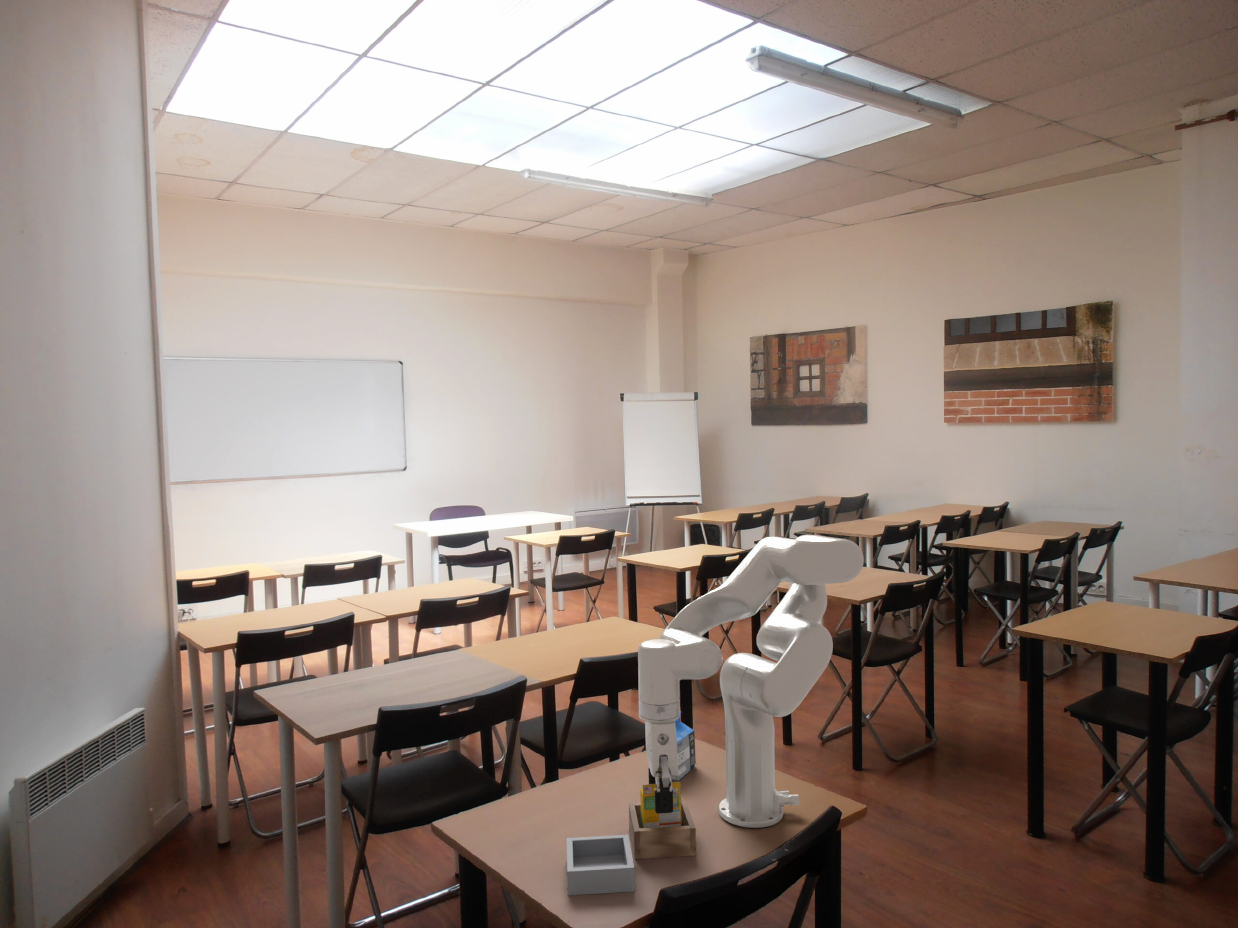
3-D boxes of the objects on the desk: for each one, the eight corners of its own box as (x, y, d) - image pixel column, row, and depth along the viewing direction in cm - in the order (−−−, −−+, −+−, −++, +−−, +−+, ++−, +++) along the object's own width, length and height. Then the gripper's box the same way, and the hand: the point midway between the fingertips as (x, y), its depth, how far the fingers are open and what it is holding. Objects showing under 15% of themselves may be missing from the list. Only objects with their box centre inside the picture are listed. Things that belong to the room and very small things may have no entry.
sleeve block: (686, 825, 154) (685, 799, 154) (696, 855, 143) (695, 827, 143) (629, 828, 153) (628, 803, 153) (634, 858, 142) (634, 831, 142)
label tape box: (678, 781, 174) (677, 725, 173) (662, 777, 176) (661, 722, 175) (696, 766, 181) (695, 713, 181) (680, 763, 183) (679, 710, 183)
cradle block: (628, 856, 143) (628, 834, 143) (634, 891, 132) (634, 867, 132) (567, 859, 142) (566, 837, 142) (567, 895, 131) (567, 871, 131)
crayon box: (679, 836, 150) (678, 775, 150) (682, 844, 147) (681, 781, 147) (640, 839, 149) (639, 778, 149) (643, 847, 146) (642, 785, 146)
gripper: (687, 724, 139) (688, 821, 139) (672, 692, 156) (673, 779, 157) (644, 726, 138) (645, 823, 139) (634, 694, 155) (635, 780, 156)
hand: (660, 799), depth 148 cm, fingers open, 9 cm apart
